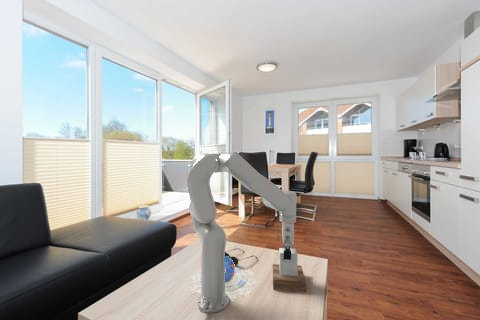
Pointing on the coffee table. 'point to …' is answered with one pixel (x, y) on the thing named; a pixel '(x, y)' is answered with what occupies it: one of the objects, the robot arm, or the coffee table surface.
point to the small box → (288, 263)
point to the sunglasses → (235, 257)
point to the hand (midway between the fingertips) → (287, 254)
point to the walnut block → (288, 280)
